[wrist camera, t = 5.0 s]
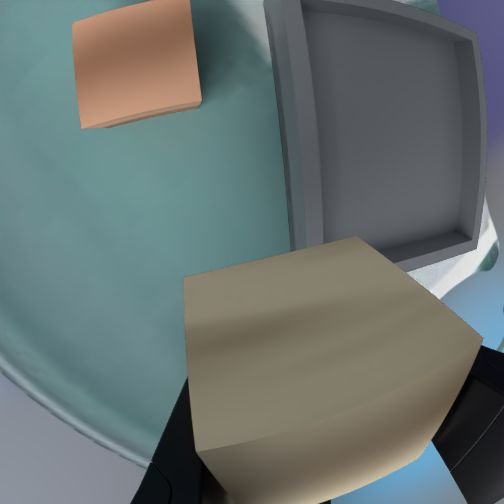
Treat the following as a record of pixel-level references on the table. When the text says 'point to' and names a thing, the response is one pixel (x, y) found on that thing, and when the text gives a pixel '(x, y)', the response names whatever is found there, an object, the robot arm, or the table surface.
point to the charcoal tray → (380, 127)
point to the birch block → (317, 371)
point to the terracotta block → (135, 63)
